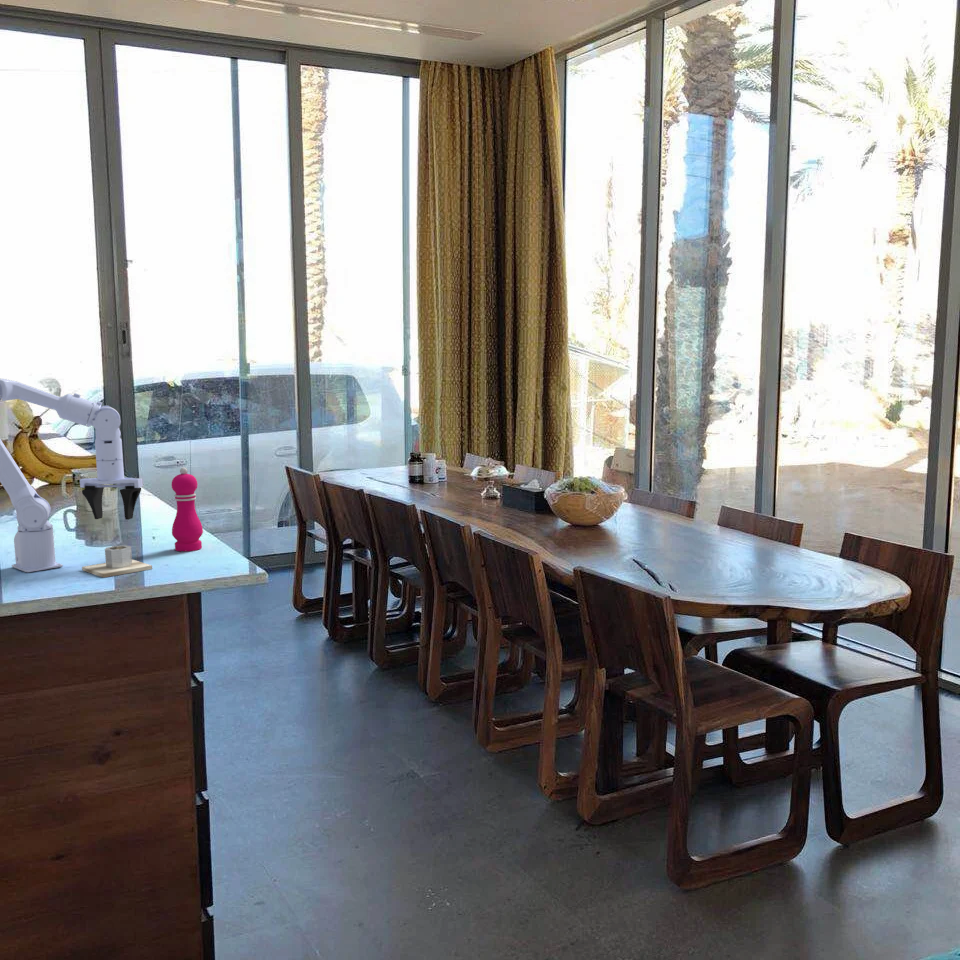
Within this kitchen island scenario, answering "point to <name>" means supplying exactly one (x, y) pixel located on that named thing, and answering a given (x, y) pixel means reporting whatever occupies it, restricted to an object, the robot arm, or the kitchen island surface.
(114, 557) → the collar
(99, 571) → the post block
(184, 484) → the pepper mill
